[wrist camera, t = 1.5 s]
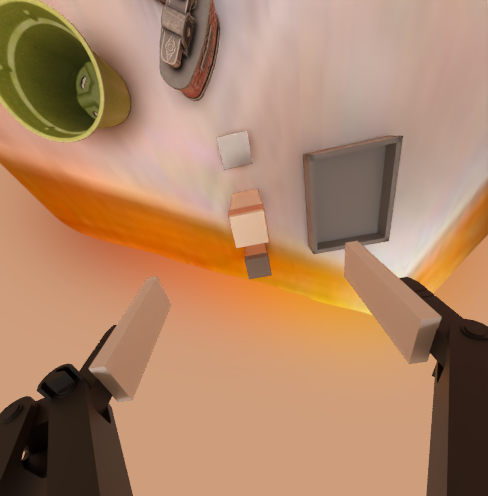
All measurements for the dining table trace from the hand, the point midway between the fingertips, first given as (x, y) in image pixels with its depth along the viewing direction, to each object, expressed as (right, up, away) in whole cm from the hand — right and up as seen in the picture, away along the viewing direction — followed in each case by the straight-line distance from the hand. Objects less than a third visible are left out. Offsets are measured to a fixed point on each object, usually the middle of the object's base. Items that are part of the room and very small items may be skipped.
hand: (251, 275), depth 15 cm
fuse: (0, +9, +16) cm, 18 cm away
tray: (+14, +9, +16) cm, 23 cm away
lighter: (-5, +23, +9) cm, 25 cm away
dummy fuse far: (+1, +2, +20) cm, 20 cm away
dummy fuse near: (-2, +15, +13) cm, 20 cm away
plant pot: (-17, +20, +10) cm, 28 cm away
